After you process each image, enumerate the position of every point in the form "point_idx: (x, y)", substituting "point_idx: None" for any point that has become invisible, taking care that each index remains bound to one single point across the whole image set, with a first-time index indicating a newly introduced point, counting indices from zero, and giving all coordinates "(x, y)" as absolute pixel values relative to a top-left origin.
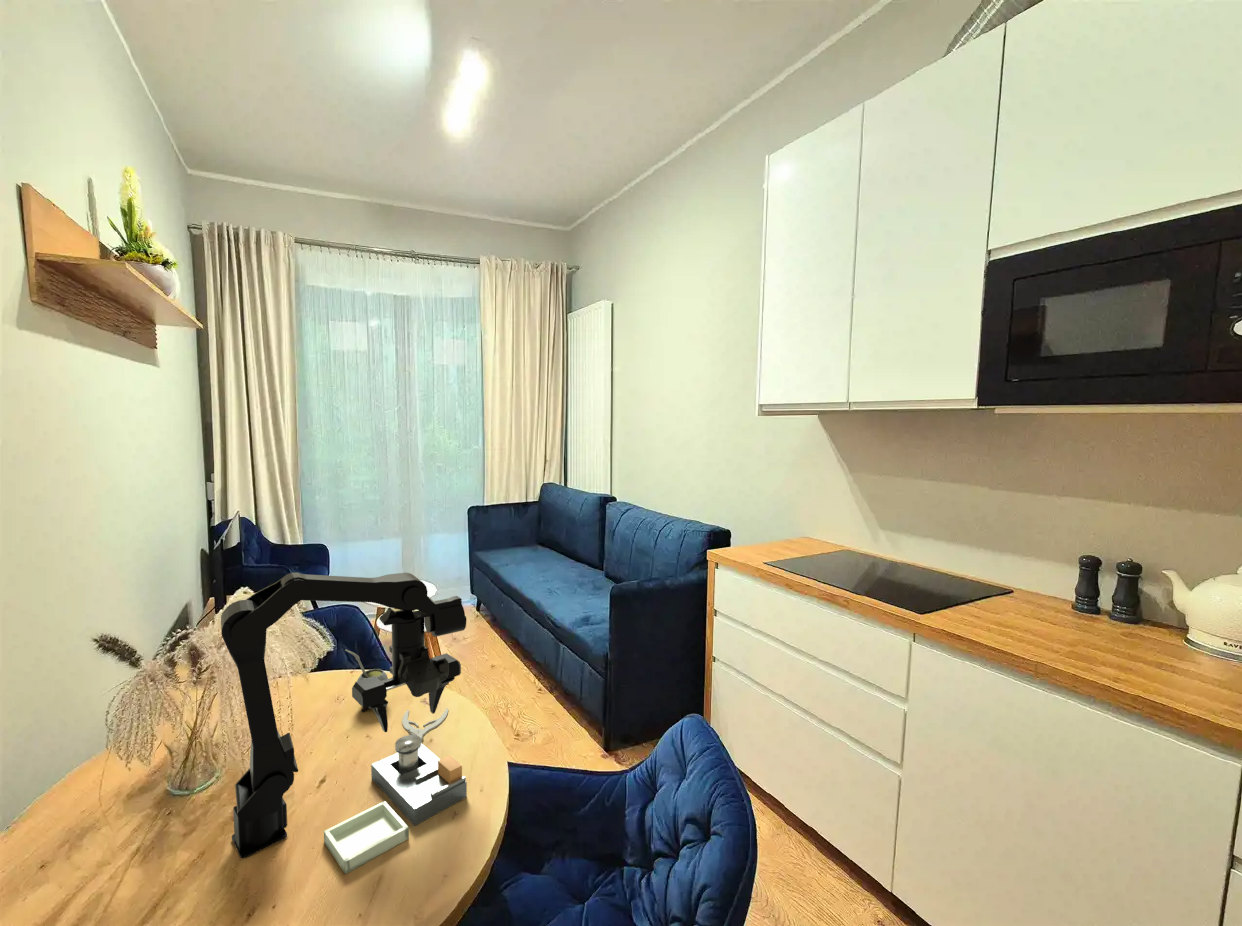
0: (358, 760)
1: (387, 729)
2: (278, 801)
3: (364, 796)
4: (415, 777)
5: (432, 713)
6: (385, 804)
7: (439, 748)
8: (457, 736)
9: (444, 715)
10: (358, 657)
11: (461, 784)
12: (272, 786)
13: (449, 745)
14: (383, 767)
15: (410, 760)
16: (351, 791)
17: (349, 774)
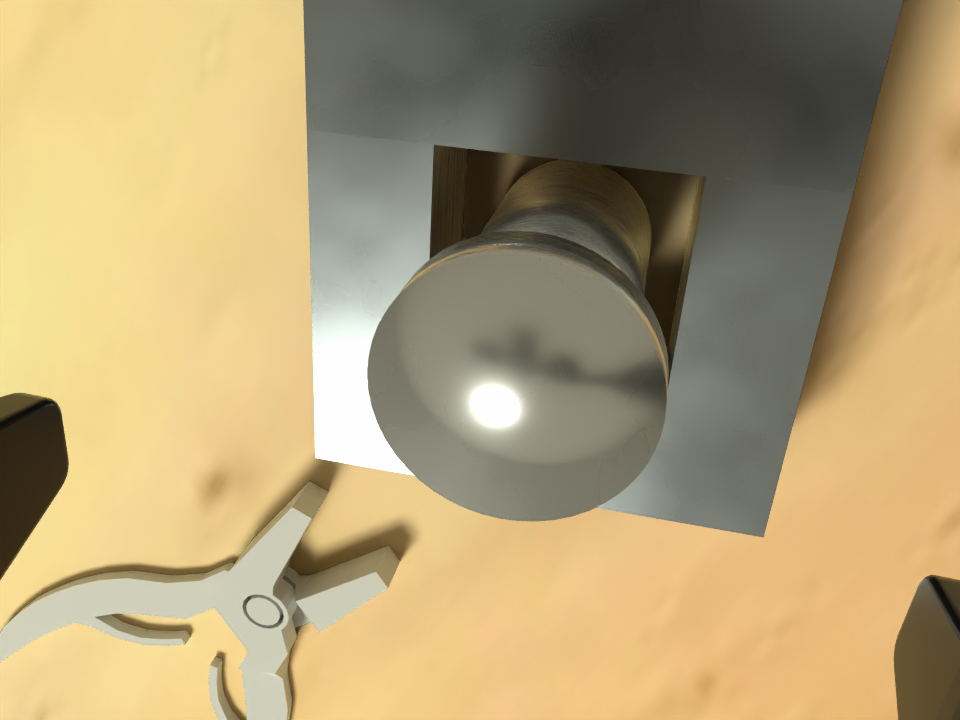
0: (678, 685)
1: (948, 597)
2: None
3: (929, 331)
4: (638, 33)
5: (58, 411)
6: None
7: (212, 365)
8: (51, 377)
9: (32, 618)
10: None
11: None
12: None
13: (140, 336)
14: (729, 421)
15: (572, 235)
16: (942, 459)
17: (814, 619)
